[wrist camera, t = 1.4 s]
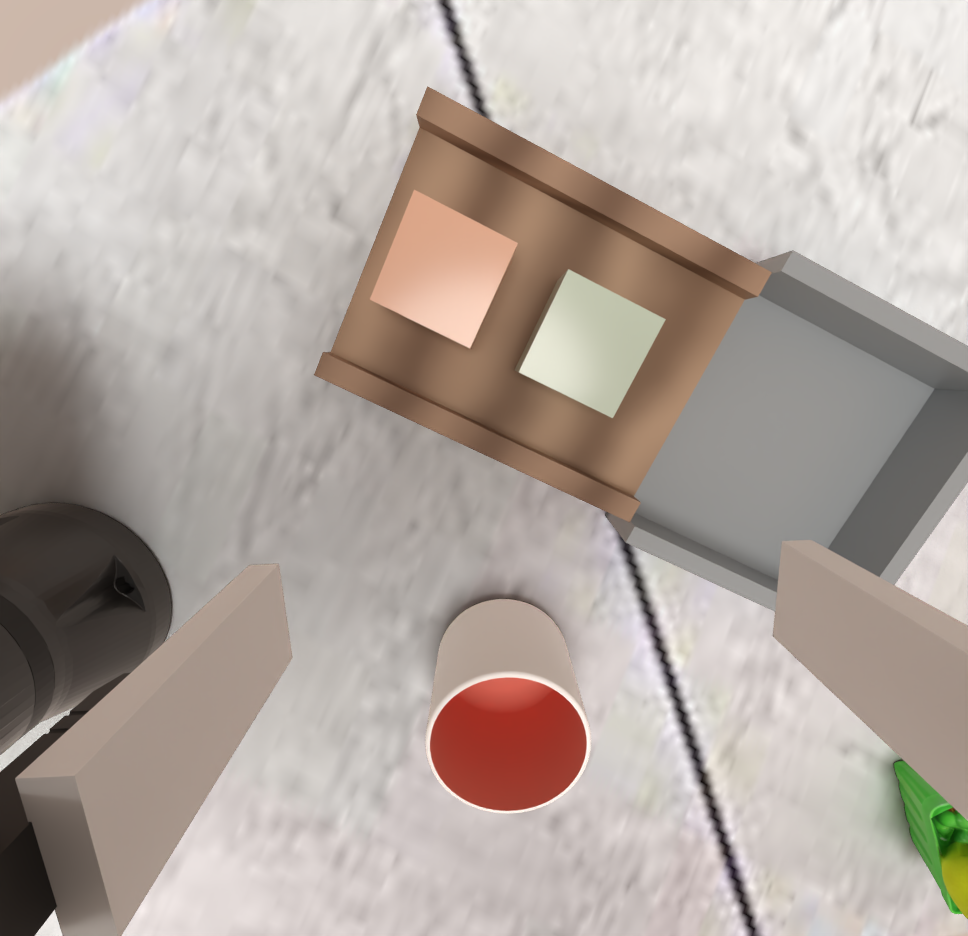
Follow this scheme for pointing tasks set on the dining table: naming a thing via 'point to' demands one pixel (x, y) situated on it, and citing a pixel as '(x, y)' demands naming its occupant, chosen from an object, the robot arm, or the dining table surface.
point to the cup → (506, 710)
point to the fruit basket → (937, 836)
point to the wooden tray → (520, 302)
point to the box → (809, 437)
